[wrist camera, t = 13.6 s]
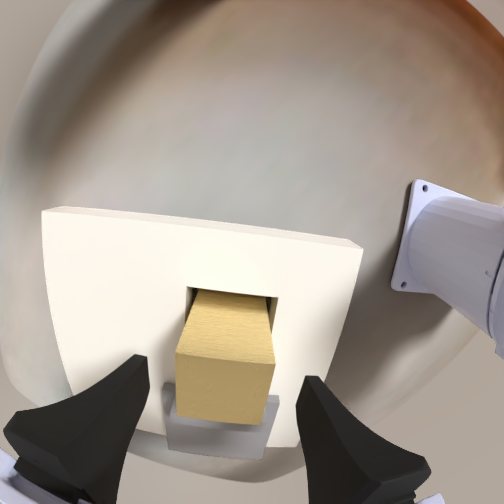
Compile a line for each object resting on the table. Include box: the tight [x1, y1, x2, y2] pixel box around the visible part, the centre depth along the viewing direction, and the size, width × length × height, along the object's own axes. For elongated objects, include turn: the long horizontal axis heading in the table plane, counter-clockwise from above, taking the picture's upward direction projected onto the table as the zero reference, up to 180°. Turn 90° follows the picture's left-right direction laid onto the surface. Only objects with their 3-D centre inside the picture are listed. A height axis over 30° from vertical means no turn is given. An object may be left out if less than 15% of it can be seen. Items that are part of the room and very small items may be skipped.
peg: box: [175, 288, 276, 425], centre depth 15 cm, size 4×4×8 cm
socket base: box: [42, 206, 364, 447], centre depth 18 cm, size 20×18×2 cm
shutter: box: [162, 382, 280, 460], centre depth 17 cm, size 8×8×3 cm
